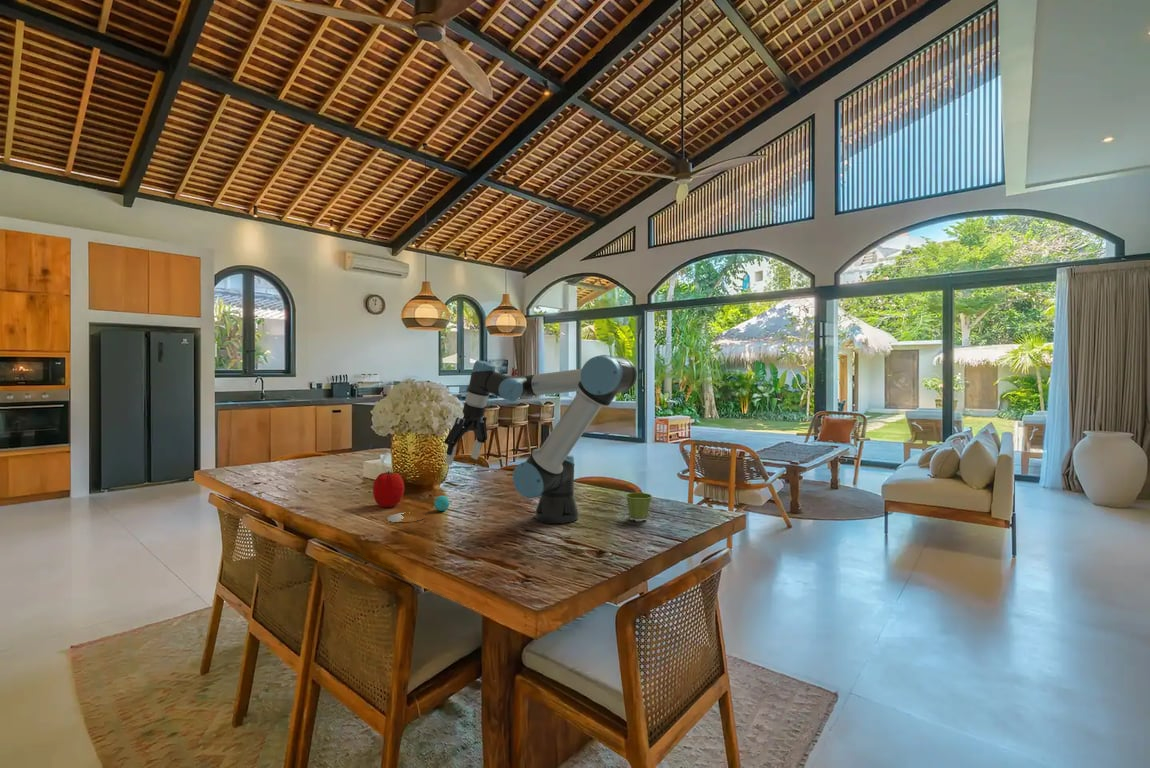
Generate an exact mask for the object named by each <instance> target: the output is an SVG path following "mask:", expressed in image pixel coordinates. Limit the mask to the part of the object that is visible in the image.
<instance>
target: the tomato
mask: <svg viewBox="0 0 1150 768" xmlns="http://www.w3.org/2000/svg"><path fill="white" fill-rule="evenodd" d="M405 489H406V488H405V482H404V479H403V477H402V476H401V474H399V473H397V472H396V471H394V472H392V471H390V470H388V471H386V472H381V473H380V474H379V475H378V476H377V477H376V478H375V479H374V482H373V485H372V494H373V499H374V500H375V503H376V504H377V505H378V506H380V507H383V508H392V507H394V506H397V505H398V504H399V503H400V502H401V500H402V498H403V497H404V494H405Z"/></svg>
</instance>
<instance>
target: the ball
mask: <svg viewBox="0 0 1150 768" xmlns="http://www.w3.org/2000/svg"><path fill="white" fill-rule="evenodd" d="M450 503H451V502H450V499H449V498H448V496H446V495H439V496H437V497H435V499H434V502H433V506H434V508H435V509H436V510H437V511H440V512H444V511H446V510H448V508H449V507H450Z"/></svg>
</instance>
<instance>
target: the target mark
mask: <svg viewBox="0 0 1150 768" xmlns="http://www.w3.org/2000/svg"><path fill="white" fill-rule="evenodd" d="M410 512H411V511H410ZM410 512H409V513H410ZM404 513H405V512H399V513H395V514H391V515H388V516H387V517H386V521H387V522H390V521H391V522H390V523H394V522H399V521H402V520H401V519H403V518H404V517H403V516H402V515H401V514H404Z"/></svg>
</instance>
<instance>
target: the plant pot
mask: <svg viewBox="0 0 1150 768" xmlns="http://www.w3.org/2000/svg"><path fill="white" fill-rule="evenodd" d="M624 496H625V499H626V501H627V508H628V514H629V515H628V516H629V519H630V518H633V519H645V518H647V517H649V510H650V503H651V500H652V498H653V495H652V494H650V493H645V492H629V493H626V494H625V495H624ZM647 519H648V518H647Z"/></svg>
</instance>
